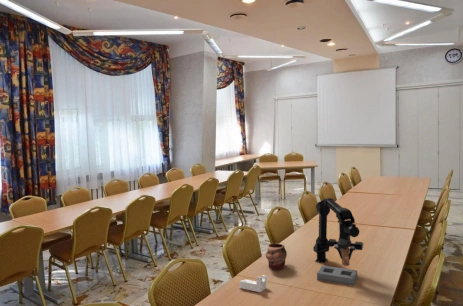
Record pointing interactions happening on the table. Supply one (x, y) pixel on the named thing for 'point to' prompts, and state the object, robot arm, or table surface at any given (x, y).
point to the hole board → (337, 275)
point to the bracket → (254, 284)
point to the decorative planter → (276, 256)
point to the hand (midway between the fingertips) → (345, 259)
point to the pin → (345, 257)
